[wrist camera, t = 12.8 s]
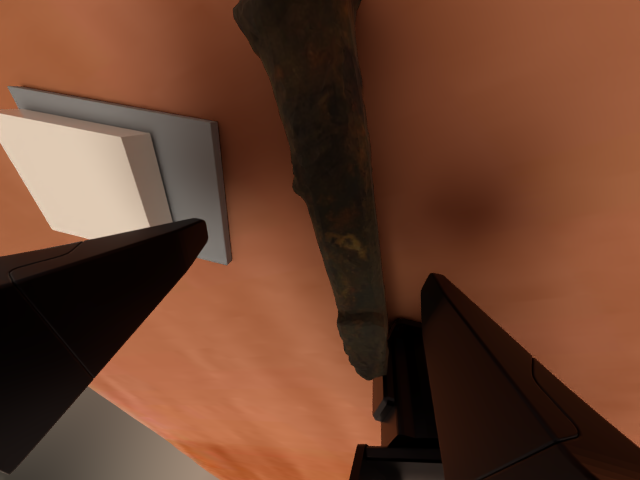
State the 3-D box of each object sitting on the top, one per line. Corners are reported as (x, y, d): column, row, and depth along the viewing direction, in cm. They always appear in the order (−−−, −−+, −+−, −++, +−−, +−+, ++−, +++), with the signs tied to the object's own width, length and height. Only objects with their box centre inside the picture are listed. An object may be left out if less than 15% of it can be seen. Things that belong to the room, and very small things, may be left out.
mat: (217, 121, 11) (210, 122, 11) (231, 260, 16) (227, 265, 16) (21, 86, 13) (7, 86, 12) (89, 224, 18) (80, 228, 17)
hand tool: (267, 21, 9) (187, -35, 5) (366, -17, 8) (354, -122, 4) (339, 328, 18) (329, 389, 14) (391, 331, 17) (394, 398, 13)
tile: (120, 137, 10) (-20, 109, 11) (159, 257, 14) (52, 229, 15) (152, 132, 12) (26, 108, 13) (179, 242, 16) (80, 218, 16)
